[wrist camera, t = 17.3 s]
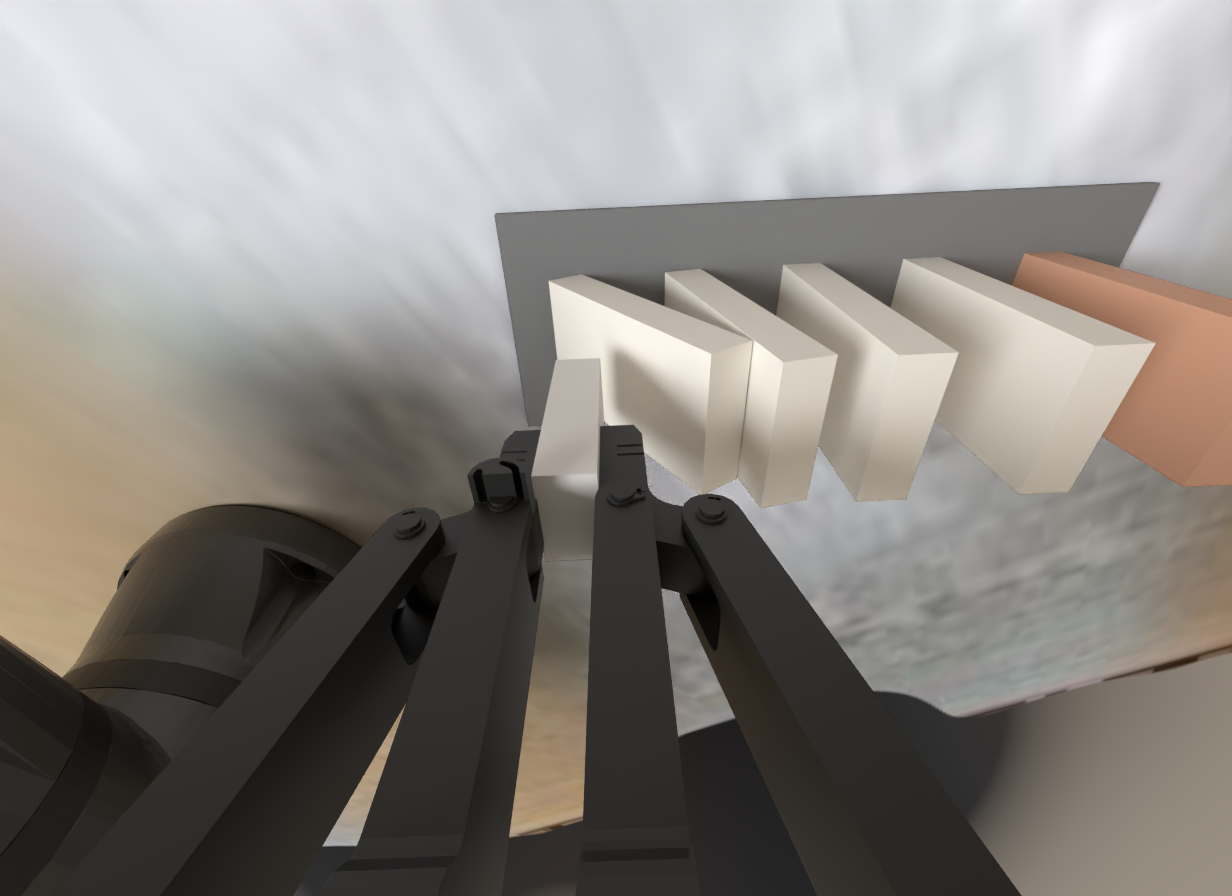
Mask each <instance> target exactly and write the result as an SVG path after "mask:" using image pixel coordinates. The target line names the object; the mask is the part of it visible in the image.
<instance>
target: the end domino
mask: <svg viewBox="0 0 1232 896" xmlns="http://www.w3.org/2000/svg"><path fill="white" fill-rule="evenodd" d="M1012 286H1014V287H1016V288H1019V289H1021V290H1024V291H1026V292H1029V293H1031V294H1034V295H1036V296H1039V297H1041V298H1044V299H1046V300H1049V301H1051V302H1054V303H1056V304H1059V305H1061V306H1064V307H1066V308H1069V309H1071V310H1074V311H1076V312H1079V313H1081V314H1084V315H1086V316H1089V317H1091V318H1094V319H1096V320H1099V321H1101V322H1104V323H1106V324H1109V325H1111V326H1114V327H1116V328H1119V329H1121V330H1124V331H1127V332H1129V333H1132V334H1134V335H1137V336H1139V337H1142V338H1144V339H1147V340H1149V341H1152V342H1154V343H1156V344H1155V346H1154V347H1153V349H1152V351H1151V352H1150V354H1149V356H1148V357H1147V359H1146V361H1145V363H1144V364H1143V366H1142V368H1141V369H1140V371H1139V373H1138V375H1137V376H1136V378H1135V380H1134V381H1133V383H1132V385H1131V386H1130V388H1129V390H1128V392H1127V393H1126V395H1125V397H1124V398H1123V400H1122V402H1121V403H1120V405H1119V407H1118V409H1117V410H1116V412H1115V414H1114V415H1113V417H1112V419H1111V421H1110V422H1109V424H1108V426H1107V427H1106V429H1105V431H1104V432H1103V434H1102V437H1104V438H1106V439H1107V440H1109V441H1110V442H1112V443H1114V444H1115V445H1117V446H1118V447H1120V448H1122V449H1123V450H1125V451H1126V452H1128V453H1129V454H1131V455H1133V456H1134V457H1136V458H1137V459H1139V460H1141V461H1142V462H1144V463H1145V464H1147V465H1149V466H1150V467H1152V468H1153V469H1155V470H1157V471H1158V472H1160V473H1161V474H1163V475H1164V476H1166V477H1168V478H1169V479H1171V480H1172V481H1174V482H1176V483H1177V484H1179V485H1180V486H1182V487H1191V486H1212V485H1232V300H1231V299H1228V298H1224V297H1221V296H1217V295H1214V294H1210V293H1206V292H1203V291H1199V290H1196V289H1192V288H1189V287H1185V286H1182V285H1178V284H1175V283H1171V282H1167V281H1164V280H1160V279H1157V278H1153V277H1150V276H1146V275H1143V274H1139V273H1136V272H1132V271H1128V270H1125V269H1121V268H1118V267H1114V266H1111V265H1107V264H1104V263H1100V262H1097V261H1093V260H1089V259H1086V258H1082V257H1079V256H1075V255H1072V254H1068V253H1065V252H1043V253H1024V256H1023V259H1022V261H1021V264H1020V266H1019V269H1018V271H1017V274H1016V276H1015V279H1014V281H1013V284H1012Z"/></svg>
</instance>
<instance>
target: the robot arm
mask: <svg viewBox="0 0 1232 896" xmlns="http://www.w3.org/2000/svg"><path fill="white" fill-rule="evenodd" d="M467 476H468V480H469V484H470V488H471V492H472V496H473V499H474V506H473V509H472V510H470V511H469V512H467V513H464V514H461V515H458V516H454V517H450V518H446V519H442V520H440V517H439V515H438V514H437V513H436V512H435V511H434V510H431V509H427V508H413V509H409V510H405V511H402V512H400V513H398V514H396V515H394V516H392V517H391V518H390V519H389V520H387V521H386V522H385V523H384V524H383V525H382V526H381V527H380V528H379V529H378V531H377V532H376V533H375V534H374V535H373V536H372V537H371V538H370V539H369V541H368V542H367V543H366V544H365V545H364V546H363V547H362V548H361V549H360V548H359V547H357V546H356V545H355V544H353V543H352V542H350V541H349V540H347V539H346V538H344V537H342V536H341V535H339V534H337V533H335V532H333V531H331V530H329V529H327V528H325V527H323V526H321V525H319V524H316V523H314V522H311V521H309V520H306V519H303V518H300V517H298V516H294V515H291V514H287V513H283V512H279V511H275V510H270V509H264V508H257V507H247V506H219V507H210V508H204V509H199V510H195V511H192V512H188V513H186V514H183V515H181V516H179V517H177V518H175V519H173V520H171V521H170V522H168V523H167V524H166V525H164V526H163V527H162V528H161V529H160V530H159V531H158V532H156V533H155V534H154V535H153V536H152V537H151V538H150V539H149V540H148V541H147V542H146V543H145V544H144V545H142V546H141V547H140V548H139V549H138V550H137V551H136V552H135V553H134V554H133V556H132V557H131V558H130V560H129V561H128V562H127V564H126V565H125V567H124V569H123V572H122V575H121V577H120V579H119V581H118V586H117V592H116V593H115V595H114V596H113V598H112V600H111V602H110V603H109V605H108V607H107V608H106V610H105V612H104V613H103V615H102V617H101V619H100V621H99V622H98V624H97V626H96V628H95V630H94V631H93V633H92V635H91V637H90V639H89V641H88V642H87V644H86V646H85V648H84V650H83V652H82V653H81V655H80V657H79V658H78V660H77V661H76V663H75V664H74V665H73V666H72V668H71V669H70V670H69V671H68V672H67V673H66V674H65V675H64V676H63V677H60V676H59V675H57V674H56V673H54V672H53V671H51V670H50V669H49V668H47V667H46V666H44V665H43V664H41V663H40V662H38V661H37V660H36V659H34V658H33V657H31V656H30V655H28V654H27V653H25V652H24V651H23V650H21V649H20V648H18V647H17V646H15V645H14V644H12V643H11V642H10V641H8V640H7V639H5V638H4V637H2V636H1V635H0V896H293V895H294V893H295V892H296V890H297V888H298V887H299V885H300V883H301V882H302V880H303V878H304V876H305V875H306V873H307V871H308V870H309V868H310V866H311V864H312V863H313V861H314V859H315V857H316V856H317V854H318V852H319V851H320V849H321V847H322V846H323V844H324V842H325V840H326V839H327V837H328V835H329V834H330V832H331V830H332V829H333V827H334V825H335V823H336V822H337V820H338V818H339V817H340V815H341V813H342V811H343V810H344V808H345V806H346V805H347V803H348V801H349V799H350V798H351V796H352V794H353V793H354V791H355V789H356V788H357V786H358V784H359V782H360V781H361V779H362V777H363V776H364V774H365V772H366V770H367V769H368V767H369V765H370V764H371V762H372V760H373V758H374V757H375V755H376V753H377V752H378V750H379V748H380V746H381V745H382V743H383V741H384V740H385V738H386V736H387V735H388V733H389V731H390V729H391V728H392V726H393V724H394V723H395V721H396V719H397V717H398V716H399V714H400V712H401V711H402V709H403V707H404V705H405V704H406V705H405V708H404V711H403V714H402V717H401V720H400V723H399V726H398V729H397V732H396V734H395V737H394V740H393V743H392V746H391V749H390V752H389V755H388V758H387V761H386V764H385V767H384V770H383V773H382V775H381V778H380V781H379V784H378V787H377V790H376V793H375V796H374V799H373V802H372V805H371V808H370V811H369V813H368V816H367V819H366V822H365V825H364V828H363V831H362V834H361V837H360V840H359V842H358V844H357V847H356V849H355V851H354V853H353V854H352V856H351V857H350V859H349V860H348V861H347V862H345V863H344V864H343V865H341V866H340V867H338V868H337V869H336V870H334V871H333V872H332V874H331V875H330V876H329V878H328V880H327V881H326V882H325V884H324V885H323V887H322V888H321V891H320V893H319V895H318V896H501V892H502V885H503V876H504V869H505V862H506V855H507V847H508V840H509V833H510V825H511V818H512V810H513V803H514V795H515V788H516V780H517V773H518V766H519V758H520V751H521V743H522V736H523V728H524V721H525V713H526V706H527V699H528V691H529V684H530V676H531V669H532V661H533V654H534V647H535V639H536V632H537V624H538V617H539V609H540V602H541V594H542V587H543V580H544V576H543V569H542V563H541V562H542V555H543V549H544V555H545V561H568V560H592V559H593V562H592V590H591V617H590V645H589V673H588V700H587V728H586V756H585V783H584V811H583V836H582V849H581V854H580V858H579V862H578V871H577V882H576V896H700V890H699V884H698V875H697V870H696V864H695V858H694V855H693V852H692V849H691V844H690V838H689V830H688V822H687V813H686V804H685V795H684V786H683V777H682V769H681V760H680V751H679V742H678V733H677V724H676V715H675V706H674V698H673V689H672V680H671V671H670V662H669V653H668V644H667V636H666V627H665V618H664V609H663V600H662V591H661V588H663V589H667V590H671V591H676V592H679V594H680V598H681V601H682V603H683V605H684V607H685V609H686V611H687V614H688V616H689V618H690V620H691V622H692V624H693V627H694V629H695V631H696V633H697V635H698V637H699V640H700V642H701V644H702V646H703V648H704V650H705V653H706V655H707V657H708V659H709V661H710V663H711V666H712V668H713V670H714V672H715V674H716V676H717V679H718V681H719V683H720V685H721V687H722V689H723V692H724V694H725V696H726V698H727V700H728V702H729V705H730V707H731V709H732V711H733V713H734V715H735V718H736V720H737V722H738V724H739V726H740V729H741V731H742V733H743V735H744V737H745V739H746V742H747V744H748V746H749V748H750V750H751V752H752V755H753V757H754V759H755V761H756V763H757V765H758V768H759V770H760V772H761V774H762V776H763V778H764V781H765V783H766V785H767V787H768V789H769V791H770V793H771V796H772V798H773V800H774V802H775V804H776V806H777V809H778V811H779V813H780V815H781V817H782V820H783V822H784V824H785V826H786V828H787V830H788V833H789V834H790V837H791V839H792V841H793V843H794V846H795V848H796V850H797V852H798V854H799V857H800V858H801V861H802V863H803V865H804V867H805V870H806V872H807V874H808V876H809V878H810V880H811V883H812V885H813V887H814V889H815V891H816V893H817V896H1021V894H1020V893H1019V892H1018V890H1017V889H1016V887H1015V886H1014V885H1013V884H1012V882H1011V881H1010V879H1009V878H1008V876H1007V875H1006V874H1005V872H1004V871H1003V869H1002V868H1001V867H1000V865H999V864H998V863H997V861H996V860H995V859H994V857H993V856H992V854H991V853H990V852H989V850H988V849H987V848H986V846H985V845H984V843H983V842H982V841H981V839H980V838H979V836H978V835H977V834H976V832H975V831H974V830H973V828H972V827H971V826H970V824H969V823H968V821H967V820H966V819H965V817H964V816H963V814H962V813H961V812H960V810H959V809H958V808H957V806H956V805H955V803H954V802H953V801H952V799H951V798H950V797H949V795H948V794H947V792H946V791H945V790H944V788H943V787H942V786H941V784H940V783H939V782H938V780H937V779H936V777H935V776H934V775H933V773H932V772H931V770H930V769H929V768H928V766H927V765H926V764H925V762H924V761H923V759H922V758H921V757H920V755H919V754H918V753H917V751H916V750H915V748H914V747H913V746H912V744H911V743H910V742H909V740H908V739H907V737H906V736H905V735H904V733H903V732H902V731H901V729H900V728H899V726H898V725H897V724H896V722H895V721H894V719H893V718H892V717H891V716H890V714H889V713H888V711H887V710H886V709H885V707H884V706H883V704H882V703H881V702H880V700H879V699H878V697H877V696H876V695H875V693H874V692H873V691H872V689H871V688H870V686H869V685H868V684H867V682H866V681H865V680H864V678H863V677H862V675H861V674H860V673H859V671H858V670H857V669H856V667H855V666H854V664H853V663H852V662H851V660H850V659H849V658H848V656H847V655H846V653H845V652H844V651H843V649H842V648H841V647H840V645H839V644H838V642H837V641H836V640H835V638H834V637H833V636H832V634H831V633H830V631H829V630H828V629H827V627H826V626H825V625H824V623H823V622H822V620H821V619H820V618H819V616H818V615H817V614H816V612H815V611H814V609H813V608H812V607H811V605H810V604H809V603H808V601H807V600H806V598H805V597H804V596H803V594H802V593H801V592H800V590H799V589H798V587H797V586H796V585H795V583H794V582H793V581H792V579H791V578H790V576H789V575H788V574H787V572H786V571H785V570H784V568H783V567H782V565H781V564H780V563H779V561H778V560H777V559H776V557H775V556H774V554H773V553H772V552H771V550H770V549H769V548H768V546H767V545H766V543H765V542H764V541H763V539H762V538H761V536H760V535H759V534H758V532H757V531H756V530H755V528H754V527H753V525H752V524H751V523H750V521H749V520H748V519H747V517H746V516H745V514H744V513H743V512H742V510H741V509H740V508H739V506H738V505H736V504H735V503H734V502H733V501H732V500H730V499H728V498H726V497H724V496H720V495H714V494H702V495H698V496H695V497H692V498H690V499H689V500H688V501H687V502H686V503H684V506H677V505H672V504H669V503H665V502H663V501H661V500H659V499H657V498H656V497H655V496H653V495H652V493H651V492H650V491H649V488H648V483H647V475H646V466H645V457H644V448H643V439H642V433H641V432H640V431H639V430H638V429H637V428H636V426H635V425H614V426H604V410H603V395H602V379H601V363H600V358H590V359H568V360H556V362H555V366H554V371H553V376H552V381H551V385H550V390H549V395H548V399H547V404H546V409H545V413H544V418H543V423H542V427H541V430H529V431H514V432H513V433H512V434H511V435H510V436H509V437H508V438H507V439H506V440H505V442H504V445H503V448H502V451H501V454H500V457H499V458H495V459H490V460H487V461H484V462H482V463H480V464H478V465H477V466H475V467H474V468H472V469H471V471H470V472H469V474H468V475H467Z"/></svg>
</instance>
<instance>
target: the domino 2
mask: <svg viewBox="0 0 1232 896" xmlns="http://www.w3.org/2000/svg"><path fill="white" fill-rule="evenodd" d="M665 307H668V308H670V309H673V310H675V311H678V312H680V313H683V314H686V315H688V316H691V317H693V318H696V319H698V320H701V321H704V322H706V323H709V324H711V325H714V326H717V327H719V328H722V329H724V330H727V331H729V332H732V333H735V334H737V335H740V336H742V337H745V338H748V339H750V340H753V343H752V352H751V360H750V369H749V377H748V386H747V395H746V403H745V412H744V420H743V429H742V437H741V446H740V455H739V463H738V472H737V477H738V479H739V480H740V481H741V483H742V484H743V485H744V487H745V488H746V489H747V491H748V492H749V493H750V495H751V496H752V497H753V499H754V500H755V502H756V503H757V504H758V506H759V507H760V508H765V507H770V506H776V505H781V504H786V503H791V502H796V501H801V500H806V498H807V494H808V489H809V484H810V480H811V475H812V471H813V466H814V462H815V457H816V453H817V448H818V443H819V439H820V434H821V430H822V425H823V421H824V416H825V411H826V407H827V402H828V398H829V393H830V389H831V384H832V380H833V375H834V370H835V366H836V361H837V357H838V354H836V353H834V352H833V351H831V350H830V349H828V348H826V347H825V346H823V345H822V344H820V343H818V342H817V341H815V340H814V339H812V338H810V337H809V336H807V335H806V334H804V333H802V332H801V331H799V330H798V329H796V328H794V327H793V326H791V325H790V324H788V323H786V322H785V321H783V320H782V319H780V318H778V317H777V316H775V315H774V314H772V313H770V312H769V311H767V310H766V309H764V308H762V307H761V306H759V305H758V304H756V303H754V302H753V301H751V300H750V299H748V298H747V297H745V296H743V295H742V294H740V293H739V292H737V291H735V290H734V289H732V288H731V287H729V286H727V285H726V284H724V283H723V282H721V281H719V280H718V279H716V278H715V277H713V276H711V275H710V274H708V273H707V272H705V271H703V270H702V269H691V270H681V271H672V272H665Z"/></svg>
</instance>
